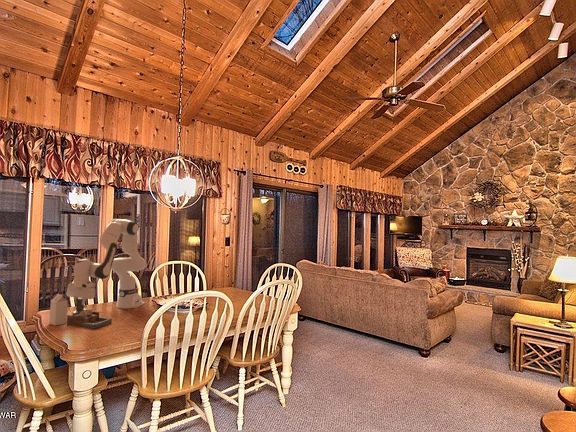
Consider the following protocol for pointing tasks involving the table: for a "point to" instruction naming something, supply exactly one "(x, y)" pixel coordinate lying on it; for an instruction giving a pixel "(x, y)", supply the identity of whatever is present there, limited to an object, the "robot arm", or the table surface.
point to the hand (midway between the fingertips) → (80, 304)
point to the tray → (97, 323)
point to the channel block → (82, 319)
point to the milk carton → (58, 310)
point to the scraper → (79, 307)
